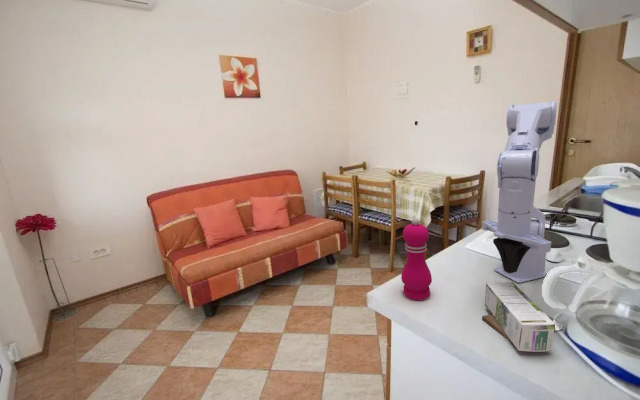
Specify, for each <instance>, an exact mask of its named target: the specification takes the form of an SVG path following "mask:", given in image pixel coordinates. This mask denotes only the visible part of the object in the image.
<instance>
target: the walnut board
mask: <svg viewBox="0 0 640 400" xmlns="http://www.w3.org/2000/svg"><path fill="white" fill-rule="evenodd" d="M547 316H548V317H549V318H550V319H551V320H552V321H553V319H554V318H553V317H551V316H549V315H547ZM481 320H482V321H483V322H485V324H487V325H488V326H490V328H492V329H494V331H496V332H498V334H500V335H501V336H503V337H504V338H505V340H506V339H507V340H508V341H509V342H510V343H511V344H513V342H512V341H511V340H510V338H509V337H508V336H507V334H506V333H505V332H504V330H503V329H502V328H501V326H500V325H499V324H498V322H497V321H496V320H495V318H494V317H493V316H492V314H491V313H489V314H486V315H482V316H481ZM554 333H556V332H555V328H554Z"/></svg>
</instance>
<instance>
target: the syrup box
mask: <svg viewBox="0 0 640 400" xmlns="http://www.w3.org/2000/svg"><path fill="white" fill-rule="evenodd" d="M484 306H485V307H486V309H487V311H488V312H489V314H492V316H493V317H494V318H495V320H496V321H497V322H498V324H499V325H500V326H501V328H502V329H503V330H504V332H505V333H506V334H507V336H508V337H509V338H510V340H511V341H512V342H513V343H512V342H511V343H512V344H513V345H514V346H515V348H516V349H517V350H518V352H519V351H520V352H535V353H536V352H537V353H538V352H541V353H542V352H551V351H553V350H552V349H553V342H554V335H555V334H554V333H555V332H554V328H555V323H554V322H553V321H552V320H551V319H550V318H549V317H550V316H549V315H548V314H546V313H545V312H544V311H543V310H542V309H541V308H539V306H538V305H537V304H536V303H535V302H534V301H533V300H532V299H531V298H529V296H527V294H526V293H525V292H523V291H522V289H521V288H519V287H518V286H517V284H515V283H514V281H513V282H512V281H511V282H510V281H507V282H487V283H485V297H484ZM548 316H549V317H548Z"/></svg>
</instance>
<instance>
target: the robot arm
mask: <svg viewBox="0 0 640 400" xmlns="http://www.w3.org/2000/svg"><path fill="white" fill-rule="evenodd" d="M557 107H558V102H556V101H555V100H552V101H545V102H536V103H535V102H533V103H524V104H523V103H522V104H515V105H514V104H511V105H509V106H508V108H507V112H506V128H507V136H508V139H507V141H506V145H505V148H504V152H503V153H502V152H499V153H498V157H497V163H496V173H497V175H496V176H497V188H498V189H499V190H498V204H497V205H498V207H497V208H498V210H497V221H493V220H490V219H487V220H482V221H481V223H482V224H481V229H482V230H483V231H489V232H492V233H493V235H494V237H495V238H493V239H492V243H493V245H494V246H495V247H496V249H497V251H498V254H499V257H500V260H501V263H502V266H498V267H495V268H494V269H493V270H494V271H495V272H497V273H498V274H500V275H501V276H503V277H505V278H508V279H509V280H511V281H513V282H515V283H517V284H522V283H525V282H529V281H533V280H536V279H541V278H544V277H546V276H545V275H546V274H547V273H546V272H545V270H546V269H545V268H546V261H547V259H546V258H547V253H549V252H551V251H552V249H551V248H552V241H550V240H547V239H546V238H545V230H546V215H545V214H544V212H543V211H541V210H540V209H539V208H537V207H536V206H535V205H534V201H535V192H536V184H537V183H536V181H537V177H538V176H539V175H538V174H539V167H540V166H539V165H540V153H539V152H540V149H541V147H542V145H543V143H544V142H546V141H548V140H550V139H552V138H553V134H554V132H555V126H556V120H557V119H556V118H557V109H558V108H557ZM533 218H534V219H533Z"/></svg>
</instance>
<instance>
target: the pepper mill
mask: <svg viewBox="0 0 640 400" xmlns="http://www.w3.org/2000/svg"><path fill="white" fill-rule="evenodd" d="M402 238H403V240H404V241H405V243H404V246H405V248H404V249H405V250H406V253H407V259H406V262H405V263H404V267H403V269H402V271H401V279H400V280H401V282H402V284H403V295H404V296H405V297H406V298H407V299H410V300H413V301H424V300H427V299H428V298H429V297H430V294H431V288H430V285H431V284H432V281H433V277H432V273H431V270H430V268H429V267H428V264H427V261H426V256H425V254H426V253H425V252H426V251H427V250H428V248H427V246H428V243H427V242H428V240H429V238H430V232H429V230H428V228H427V227H426V225H424V224H421V223H420V220H419V218H418V217H413V218H412V219H411V223H409V224H408V225H406V226H404V229H403V231H402Z"/></svg>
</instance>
